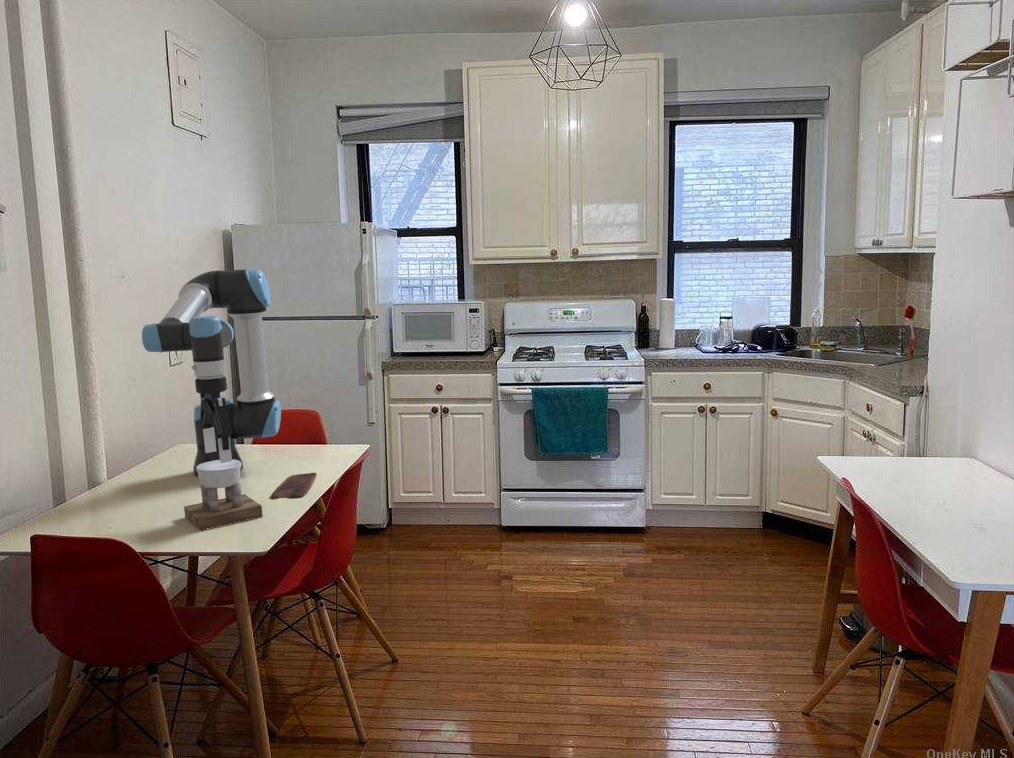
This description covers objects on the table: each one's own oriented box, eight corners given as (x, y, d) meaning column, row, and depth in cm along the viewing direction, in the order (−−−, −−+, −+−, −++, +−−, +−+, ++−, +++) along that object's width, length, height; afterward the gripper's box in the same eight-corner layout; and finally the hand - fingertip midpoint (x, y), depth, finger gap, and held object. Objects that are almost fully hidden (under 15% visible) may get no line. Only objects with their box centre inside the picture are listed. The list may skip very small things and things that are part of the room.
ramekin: (229, 490, 196) (227, 470, 195) (188, 489, 198) (186, 469, 197) (250, 478, 207) (249, 459, 206) (212, 477, 209) (210, 458, 208)
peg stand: (185, 517, 204) (181, 484, 203) (245, 504, 214) (242, 473, 212) (199, 530, 193) (196, 496, 192) (262, 516, 203) (259, 483, 201)
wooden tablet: (289, 471, 244) (320, 466, 244) (290, 478, 244) (321, 473, 245) (267, 496, 218) (303, 490, 218) (269, 504, 218) (304, 498, 218)
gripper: (182, 373, 206) (190, 450, 209) (209, 384, 186) (217, 469, 189) (211, 370, 210) (219, 445, 214) (240, 380, 190) (248, 463, 194)
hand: (218, 456), depth 202 cm, fingers open, 13 cm apart
